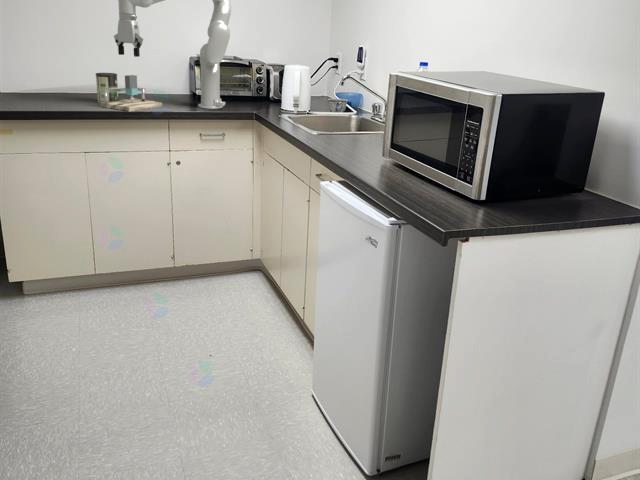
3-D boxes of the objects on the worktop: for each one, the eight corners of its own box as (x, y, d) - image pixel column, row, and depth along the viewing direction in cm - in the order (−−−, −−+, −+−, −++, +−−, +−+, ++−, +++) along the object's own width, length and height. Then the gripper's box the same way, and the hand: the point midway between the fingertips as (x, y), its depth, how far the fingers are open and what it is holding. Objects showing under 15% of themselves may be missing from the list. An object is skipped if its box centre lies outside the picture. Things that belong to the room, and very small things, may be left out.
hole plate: (162, 106, 297) (162, 102, 296) (129, 111, 277) (129, 107, 276) (134, 102, 304) (134, 98, 303) (101, 106, 284) (100, 102, 284)
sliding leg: (138, 101, 291) (137, 75, 286) (131, 102, 287) (130, 76, 282) (132, 100, 292) (131, 74, 288) (125, 101, 288) (123, 75, 284)
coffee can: (118, 100, 306) (116, 72, 301) (119, 103, 297) (117, 75, 292) (97, 100, 302) (95, 72, 297) (97, 103, 293) (95, 74, 288)
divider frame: (146, 101, 297) (145, 88, 295) (116, 105, 280) (116, 91, 278) (134, 99, 300) (133, 86, 298) (104, 103, 283) (103, 90, 281)
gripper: (147, 19, 275) (148, 57, 281) (119, 16, 282) (121, 53, 288) (135, 18, 269) (137, 57, 275) (107, 16, 276) (109, 54, 282)
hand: (129, 55), depth 282 cm, fingers open, 9 cm apart
